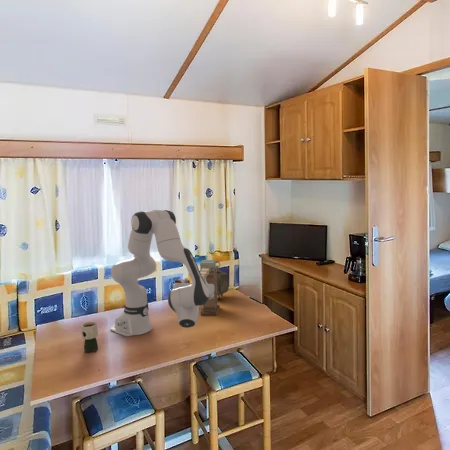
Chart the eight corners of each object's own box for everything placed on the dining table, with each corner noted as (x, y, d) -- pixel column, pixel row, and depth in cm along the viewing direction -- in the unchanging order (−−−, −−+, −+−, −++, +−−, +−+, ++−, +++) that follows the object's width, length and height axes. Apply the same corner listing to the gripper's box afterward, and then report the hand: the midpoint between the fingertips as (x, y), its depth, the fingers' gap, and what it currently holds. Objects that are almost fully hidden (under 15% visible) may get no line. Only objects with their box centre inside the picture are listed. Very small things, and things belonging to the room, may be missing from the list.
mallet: (207, 280, 197) (207, 271, 196) (192, 280, 198) (192, 271, 197) (215, 268, 223) (215, 259, 223) (202, 268, 224) (202, 259, 224)
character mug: (81, 348, 182) (78, 322, 180) (96, 344, 186) (94, 319, 184) (85, 356, 173) (83, 329, 171) (101, 352, 176) (99, 326, 175)
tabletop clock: (222, 294, 256) (220, 258, 253) (230, 297, 249) (229, 260, 245) (204, 299, 247) (203, 262, 244) (213, 303, 240) (211, 264, 237)
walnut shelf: (215, 317, 215) (213, 273, 211) (199, 317, 216) (197, 273, 213) (219, 306, 232) (218, 265, 229) (205, 306, 234) (203, 265, 230)
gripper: (213, 294, 176) (215, 275, 188) (170, 293, 177) (175, 274, 189) (213, 304, 179) (216, 284, 191) (171, 303, 181) (176, 283, 192)
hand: (195, 279), depth 190 cm, fingers open, 8 cm apart
